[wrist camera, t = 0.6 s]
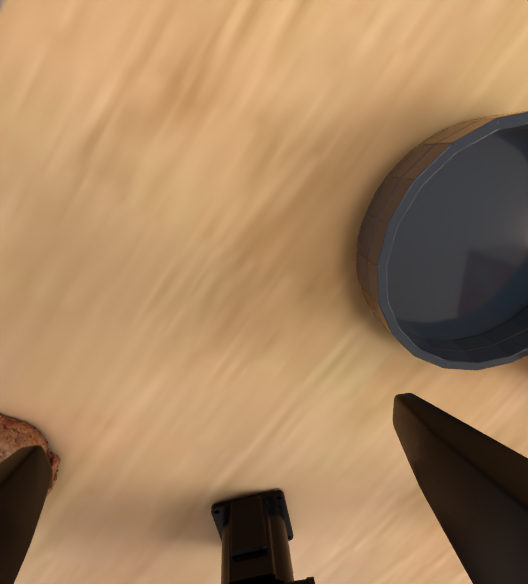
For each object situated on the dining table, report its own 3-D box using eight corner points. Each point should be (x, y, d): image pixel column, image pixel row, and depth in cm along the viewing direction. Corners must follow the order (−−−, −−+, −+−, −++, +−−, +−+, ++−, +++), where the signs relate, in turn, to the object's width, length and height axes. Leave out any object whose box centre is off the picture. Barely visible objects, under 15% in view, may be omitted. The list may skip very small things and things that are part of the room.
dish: (556, 319, 26) (604, 343, 22) (363, 360, 25) (383, 390, 22) (598, 94, 20) (670, 82, 16) (346, 144, 19) (370, 142, 16)
